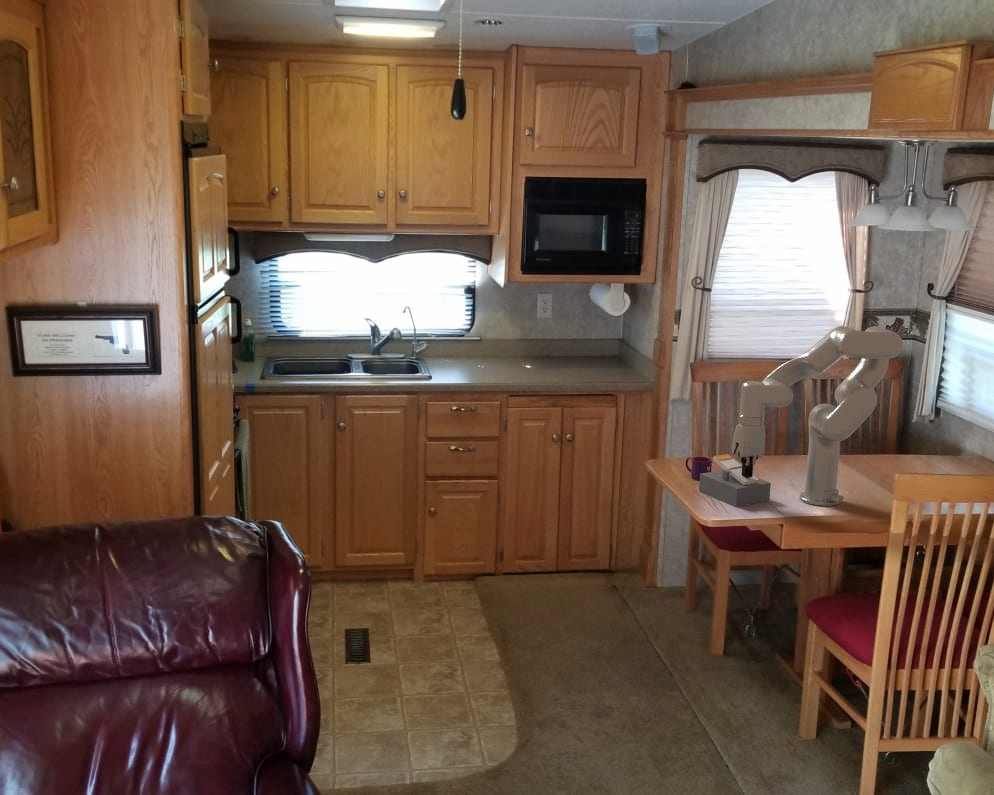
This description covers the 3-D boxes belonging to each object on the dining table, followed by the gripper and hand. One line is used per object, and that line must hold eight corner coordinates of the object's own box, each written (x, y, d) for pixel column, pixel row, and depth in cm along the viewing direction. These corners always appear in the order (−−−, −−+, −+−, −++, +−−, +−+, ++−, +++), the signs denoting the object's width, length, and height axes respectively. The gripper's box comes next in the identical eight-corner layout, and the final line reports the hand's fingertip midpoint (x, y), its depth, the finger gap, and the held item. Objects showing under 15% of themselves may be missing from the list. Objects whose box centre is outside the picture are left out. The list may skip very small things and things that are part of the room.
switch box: (769, 500, 329) (771, 473, 327) (735, 507, 323) (737, 479, 321) (731, 485, 345) (733, 459, 343) (699, 491, 338) (700, 465, 336)
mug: (701, 482, 348) (702, 462, 347) (680, 474, 356) (681, 456, 355) (714, 479, 352) (716, 460, 350) (694, 472, 360) (695, 453, 358)
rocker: (757, 483, 327) (759, 478, 327) (743, 485, 325) (744, 481, 324) (726, 457, 340) (727, 453, 339) (712, 460, 337) (713, 455, 336)
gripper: (760, 415, 329) (756, 470, 334) (724, 420, 322) (720, 476, 326) (777, 421, 323) (772, 476, 327) (741, 425, 316) (736, 482, 320)
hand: (746, 476), depth 327 cm, fingers closed
